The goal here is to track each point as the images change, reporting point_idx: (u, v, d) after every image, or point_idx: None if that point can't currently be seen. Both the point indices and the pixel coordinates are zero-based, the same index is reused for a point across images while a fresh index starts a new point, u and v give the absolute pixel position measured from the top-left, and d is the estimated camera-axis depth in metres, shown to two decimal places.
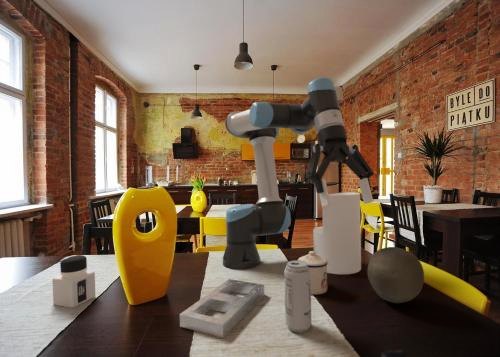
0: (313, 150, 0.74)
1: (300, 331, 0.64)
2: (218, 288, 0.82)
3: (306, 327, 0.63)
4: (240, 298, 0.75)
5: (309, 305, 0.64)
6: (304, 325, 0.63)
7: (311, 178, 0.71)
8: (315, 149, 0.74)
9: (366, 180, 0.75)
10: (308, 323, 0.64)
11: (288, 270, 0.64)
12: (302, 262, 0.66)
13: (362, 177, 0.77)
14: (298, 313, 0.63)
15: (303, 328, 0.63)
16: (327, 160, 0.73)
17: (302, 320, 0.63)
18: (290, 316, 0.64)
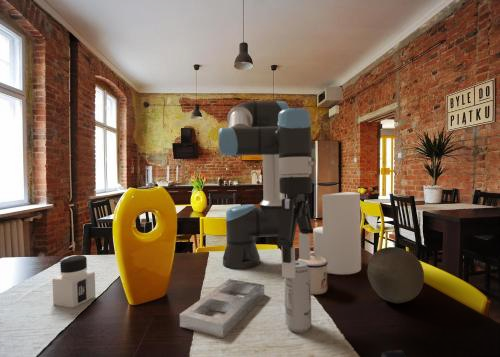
0: (285, 205, 0.59)
1: (300, 331, 0.64)
2: (218, 288, 0.82)
3: (306, 327, 0.63)
4: (240, 298, 0.75)
5: (309, 305, 0.64)
6: (304, 325, 0.63)
7: (283, 245, 0.57)
8: (290, 206, 0.59)
9: (309, 237, 0.71)
10: (308, 323, 0.64)
11: None
12: (302, 262, 0.66)
13: (303, 230, 0.72)
14: (298, 313, 0.63)
15: (303, 328, 0.63)
16: (296, 220, 0.61)
17: (302, 320, 0.63)
18: (290, 316, 0.64)
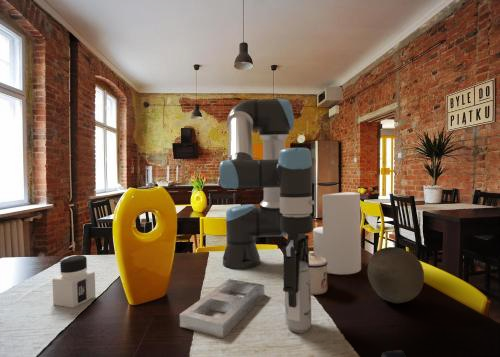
0: (287, 254, 0.60)
1: (300, 331, 0.64)
2: (218, 288, 0.82)
3: (306, 327, 0.63)
4: (240, 298, 0.75)
5: (309, 305, 0.64)
6: (304, 325, 0.63)
7: (289, 292, 0.60)
8: (291, 255, 0.60)
9: None
10: (308, 323, 0.64)
11: None
12: (302, 262, 0.66)
13: None
14: None
15: (303, 328, 0.63)
16: (298, 263, 0.63)
17: (302, 320, 0.63)
18: None
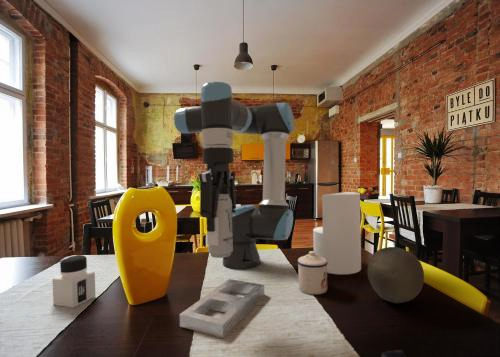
0: (203, 179, 0.63)
1: (220, 256, 0.67)
2: (218, 288, 0.82)
3: (225, 252, 0.67)
4: (240, 298, 0.75)
5: (229, 232, 0.68)
6: (223, 250, 0.67)
7: (206, 216, 0.64)
8: (206, 180, 0.63)
9: None
10: (228, 249, 0.67)
11: None
12: (224, 194, 0.70)
13: None
14: None
15: (222, 253, 0.67)
16: (217, 191, 0.66)
17: (221, 245, 0.67)
18: None
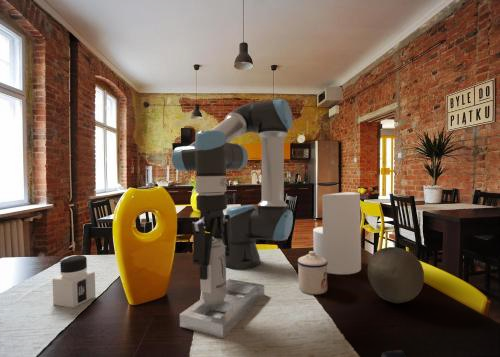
0: (195, 229, 0.64)
1: (213, 303, 0.68)
2: None
3: (218, 299, 0.67)
4: (240, 298, 0.75)
5: (222, 278, 0.68)
6: (216, 297, 0.67)
7: None
8: (199, 230, 0.64)
9: None
10: (221, 295, 0.68)
11: None
12: (218, 239, 0.70)
13: None
14: None
15: (215, 300, 0.67)
16: (210, 239, 0.67)
17: (214, 292, 0.67)
18: None
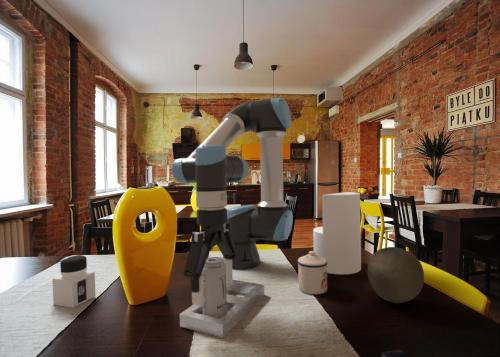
0: (194, 239, 0.64)
1: None
2: None
3: None
4: (240, 298, 0.75)
5: (223, 299, 0.68)
6: (217, 317, 0.67)
7: (189, 277, 0.61)
8: (198, 239, 0.63)
9: (231, 262, 0.75)
10: (222, 315, 0.68)
11: None
12: (219, 259, 0.71)
13: (226, 256, 0.76)
14: (210, 306, 0.67)
15: None
16: (207, 251, 0.65)
17: (215, 313, 0.67)
18: (205, 309, 0.68)
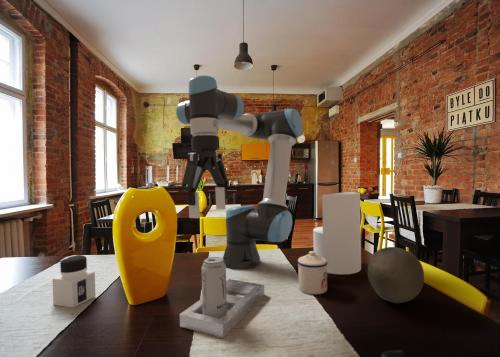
0: (190, 158, 0.70)
1: None
2: None
3: None
4: (240, 298, 0.75)
5: (223, 298, 0.68)
6: (217, 317, 0.67)
7: (186, 190, 0.68)
8: (193, 158, 0.70)
9: (223, 189, 0.83)
10: (222, 315, 0.68)
11: (203, 265, 0.69)
12: (219, 259, 0.71)
13: (219, 185, 0.84)
14: (210, 306, 0.67)
15: None
16: (201, 171, 0.72)
17: (215, 313, 0.67)
18: (205, 309, 0.68)
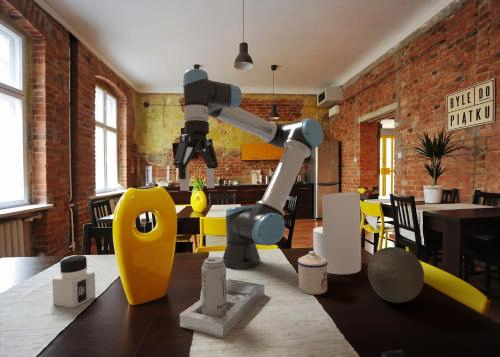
0: (182, 139, 0.82)
1: None
2: None
3: None
4: (240, 298, 0.75)
5: (223, 299, 0.68)
6: (217, 317, 0.67)
7: (178, 165, 0.79)
8: (185, 139, 0.81)
9: (213, 170, 0.94)
10: (222, 315, 0.68)
11: (203, 266, 0.69)
12: (219, 259, 0.71)
13: (209, 166, 0.95)
14: (210, 306, 0.67)
15: None
16: (192, 151, 0.84)
17: (215, 313, 0.67)
18: (205, 309, 0.68)
